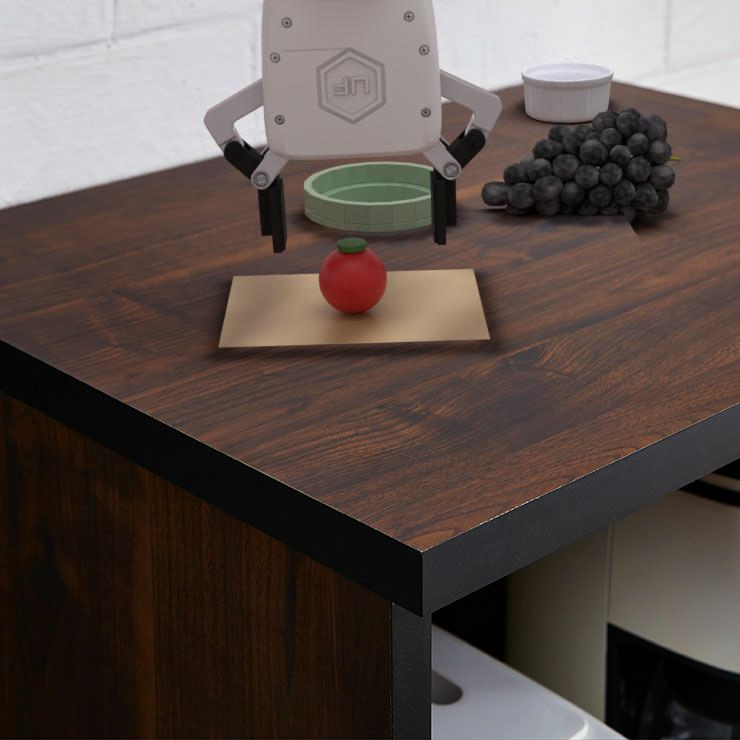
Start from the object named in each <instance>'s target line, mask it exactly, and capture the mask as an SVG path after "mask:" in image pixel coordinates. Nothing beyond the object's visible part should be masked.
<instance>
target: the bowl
mask: <svg viewBox="0 0 740 740" xmlns="http://www.w3.org/2000/svg"><path fill="white" fill-rule="evenodd" d="M433 167H434V166H430V165H425V164H417V163H414V162H402V161H401V162H400V161H365V162H356V163H349V164H347V163H346V164H342V165H337V166H333V167H329V168H325V169H322V170H320V171H318V172H315V173H313V174H311V175H310V176H309V177H308V178H306V179H305V180H304V182H303V203H304V204H303V206H304V215H305V216H306V217H307V218H308V219H309V220H310V221H311V222H313V223H316V224H317V225H318V224H319V225H321V226H323V227H326V228H331V229H337V230H341V231H350V232H361V233H383V232H388V233H389V232H397V231H407V230H412V229H418V228H423V227H425V226H429V225H432V222H431V189H430V171H433Z"/></svg>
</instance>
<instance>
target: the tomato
mask: <svg viewBox="0 0 740 740" xmlns="http://www.w3.org/2000/svg"><path fill="white" fill-rule="evenodd" d="M318 272H319V273H318V274H319V287H320V291H321V293H322V295H323V297H324V298H325V300H326V301H327V302H328V303H329V304H330V305H331V306H332V307H334V308H335V309H337V310H339V311H341V312H345V313H350V314H355V313H361V312H365V311H367V310H369V309H371V308H372V307H374V306H375V305H376V304H377V303H378V302H379V301H380V299H381V298H382V296H383V294H384V292H385V289H386V285H387V273H386V272H387V269H386V266H385V264H384V262H383V260H382V259H381V258H380V257H379V255H378V254H377V253H375V252H374V251H373V250H372V249H370V248H367V240H366V239H364V238H362V237H344V238H341V239H339V240H337V242H336V249H334V250H333V251H332V252H330V253H329V254H327V256H326V257H325V259H324V260H323V261H322V263H321V265H320V268H319V271H318Z"/></svg>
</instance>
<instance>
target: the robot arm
mask: <svg viewBox="0 0 740 740" xmlns="http://www.w3.org/2000/svg"><path fill="white" fill-rule="evenodd" d="M261 9H262V12H261V31H260V32H261V33H260V34H261V35H260V38H261V39H260V41H261V42H260V43H261V45H260V46H261V47H260V48H261V78H259V79H258V80H257V79H256V81H254V82H253V83H251V84H249V85H247V86H246V87H244V88H242V89H240V90H238V91H237V92H235V93H234V94H232V95H231V96H229V97H227V98H225V99H224V100H222V101H220V102H218V103H217V104H215V105H213V106H212V107H210V108H208V109H207V111H206V112H205V114H204V117H203V124H204V126H205V128H206V129H207V131H208V132H209V134H210V136H211V137H212V139H213V140H214V141H215V143H216V145H217V147H219V149H220V150H221V152H222V153H223V157H224V159H225V160H226V162H228V163H229V164H230V165H232V166H233V167H234V168H235V169H236V170H238V171H239V172H240V173H241V174H242V175H243V176H245V177H246V178H247V179H248V180H249V181H250V183H251V185H252V186H253V187H254V188H255V189H257V201H258V211H259V213H258V214H259V222H260V223H259V226H260V234H261V235H260V236H261V237H271V239H272V250H273V254H283V252H285V251H286V249H287V242H288V228H287V227H288V226H287V214H286V212H287V211H286V202H285V201H286V200H285V199H286V198H285V188H284V187H285V186H284V185H285V184H284V178H281V175H280V173H281V171H282V170H283V169H284V167H285V166H286V165H287V163H288V162H289V161H290V160H291V161H321V160H344V159H363V158H364V159H365V158H381V157H382V158H384V157H401V156H411V155H412V156H413V155H417V154H421V155H422V156H423V157H424V158H425V160H427V161H428V162H429V163H430V164H431V166H432V167H433V171H430V189H431V222H432V224H431V233H432V239H433V244H436V245H437V246H447V228H455V227H457V225H458V216H457V179H458V178H459V177H460V176H461V174H462V171H463V170H464V168H465V167H466V166H468V165H469V163H470V162H471V161H472V160H473V159H474V158H475V157H476V156H478V154H479V153H480V152H481V151H482V150H483V149H484V147H485V146H486V143H487V139H488V137H489V136H490V134H491V132H492V130H493V128H494V127H495V124H496V123H497V121H498V119H499V116H500V114H501V112H502V111H503V103H502V100H501V99H500V97H499V95H497V94H495V93H493V92H491V91H489V90H487V89H485V88H483V87H481V86H478V85H476V84H474V83H472V82H469V81H468V80H465V79H463V78H461V77H459V76H456V75H454V74H452V73H450V72H448V71H446V70H444V69H442V68H440V58H439V47H438V45H439V44H438V34H437V27H436V18H435V17H436V16H435V10H434V3H433V0H262V8H261ZM442 98H444V99H446V100H449V101H451V102H452V103H455V104H458V106H461V107H463V108H466V109H468V110H470V111H471V112H472V115H471V117H470V119H469V122H468V124H467V126H466V127H465V128H464V129H463V130H462V131H461V132H460V133H459V134H458V135H457V136H456V138H455V139H453V140H452V142H451V143H449V142H448V141H447V140H446V139H445V138H444V137H443V136H442V135H441V134H442V127H443V126H442V125H443V124H442V123H443V121H442V120H443V113H442V112H443V111H442V110H443V109H442V108H443V106H442V105H443V104H442ZM261 107H263V108H262V109H263V123H264V131H265V139H266V142H267V145H266V146H265V148H264V149H263V150H262V152H261V153H260V152H258V150H256V148H254V147H253V146H251V145H250V144H249V143H248V142H247V141H246V140H245V139H243V138H242V137H241V135H240V134H239V131H238V130H237V128H236V126H235V123H236V122H237V121H239V120H241V119H243V118H244V117H245V116H248V115H249V114H251V113H253V112H255V111H256V110H258V109H259V108H261Z"/></svg>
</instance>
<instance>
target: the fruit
mask: <svg viewBox="0 0 740 740" xmlns="http://www.w3.org/2000/svg"><path fill="white" fill-rule="evenodd" d="M667 138H668V125H667V122H666V121H665V120H664V119H663V118H661V116H660V115H658V114H654V113H652V112H649V113H644V114H642V113H641V112H640V111H638V110H637V108H635V107H625V108H623V109H622V110H620V112H619V111H617V110H616V109H614V108H613V109H607V111H605V112H599V113H598V114H597V115H596V116H595V117H594V118H593V120H592V121H591V126H589V125H588V124H583V123H580V124H578V125H577V126H575V127H574V128H569V126H567V125H566V124H556V125H554V126H553V127H551V128H550V130H549V131H548V134H547V138H541V139H539V140H537V141H536V142H535V144H534V145H533V148H532V156H526V157H523V159H521V160H520V162H519V163H518V162H513V163H511V164H508V165H507V166H506V167H505V168H504V169H503V175H502V179H503V181H499V180H493V181H489V182H486V183H484V185H483V186H482V189H481V193H480V196H481V198H482V201H483V204H485V205H487V206H489V207H504V206H506V207H505V209H504V212H505V213H508V214H511V215H523V214H527V213H529V212H532V211H533V209H535V210H536V211H537V213H538V214H540V215H543V216H553V215H555V214H556V213H560V214H572V213H573V212H576V209H577V213H578V214H581V215H586V216H592V215H597V214H598V213H600V214H602V215H607V216H612V215H613V216H615V215H618V214H619V212H622V213H623V215H624V217H625V218H626V220H627V222H628V224H632V222H633V221H634V219H636V218H638V217H639V216H640V215H642V214H643V213H644V212H647V213H648V214H650V215H652V216H658V215H661V214H663V213H665V212H667V211H668V209H669V204H670V200H671V197H670V192H669V191H670V190H669V189H670V188H672V187H673V185H674V184H675V180H676V173H675V170H674V169H673V168H672V167H671V166H669V165H667V163H668V162H683V160H682V159H681V158H680V157H678V156H673V153H672V152H673V151H672V146H671V145H670V144H669V142H667Z"/></svg>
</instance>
